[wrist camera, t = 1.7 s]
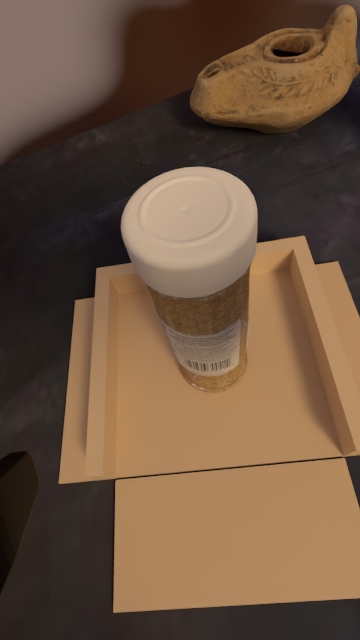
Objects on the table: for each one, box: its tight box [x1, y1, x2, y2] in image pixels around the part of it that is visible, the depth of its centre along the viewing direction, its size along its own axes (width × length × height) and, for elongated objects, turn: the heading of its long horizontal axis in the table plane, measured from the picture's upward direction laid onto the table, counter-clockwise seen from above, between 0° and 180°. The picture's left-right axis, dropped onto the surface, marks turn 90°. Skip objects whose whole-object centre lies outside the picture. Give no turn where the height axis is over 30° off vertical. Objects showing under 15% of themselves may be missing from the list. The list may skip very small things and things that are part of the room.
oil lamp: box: [190, 5, 360, 134], centre depth 31 cm, size 11×15×8 cm
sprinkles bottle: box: [121, 167, 257, 393], centre depth 17 cm, size 5×5×14 cm
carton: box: [59, 236, 360, 613], centre depth 20 cm, size 20×20×2 cm
